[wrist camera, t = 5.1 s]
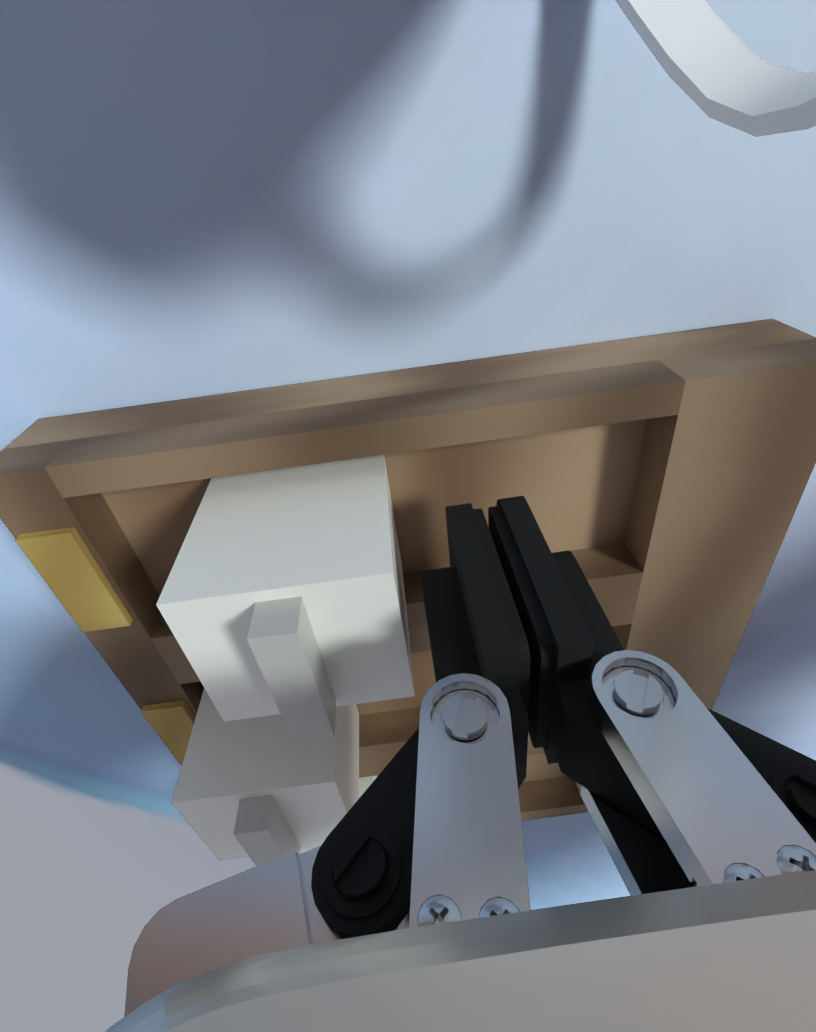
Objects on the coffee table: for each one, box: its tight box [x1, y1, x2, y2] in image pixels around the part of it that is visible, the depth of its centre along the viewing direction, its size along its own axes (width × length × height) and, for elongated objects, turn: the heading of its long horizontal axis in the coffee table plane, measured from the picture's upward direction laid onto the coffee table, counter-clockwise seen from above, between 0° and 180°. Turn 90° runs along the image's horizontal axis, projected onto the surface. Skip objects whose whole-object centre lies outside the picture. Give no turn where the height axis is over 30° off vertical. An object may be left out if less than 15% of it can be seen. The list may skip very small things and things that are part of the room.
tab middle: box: [172, 688, 359, 866], centre depth 15 cm, size 4×4×5 cm
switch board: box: [0, 319, 816, 821], centre depth 17 cm, size 18×19×3 cm
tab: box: [156, 455, 415, 741], centre depth 11 cm, size 4×4×5 cm
